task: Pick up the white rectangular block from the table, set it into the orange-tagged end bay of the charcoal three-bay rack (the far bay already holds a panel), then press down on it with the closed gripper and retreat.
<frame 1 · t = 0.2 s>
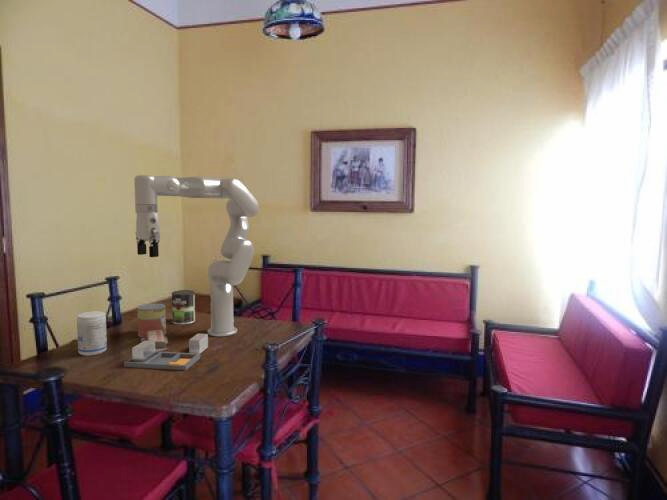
hand: (147, 255, 166), 37 cm above the table, tool pointing down, fingers open, 9 cm apart
coffee can: (184, 321, 211), on the table
panel seated: (144, 361, 158), point 1 cm above the table, touching rack
rack: (163, 364, 157), on the table
supplement tub: (93, 352, 169), on the table
packaged product: (154, 347, 176), on the table
canned food: (152, 334, 192), on the table
white rectangular block: (198, 352, 170), on the table
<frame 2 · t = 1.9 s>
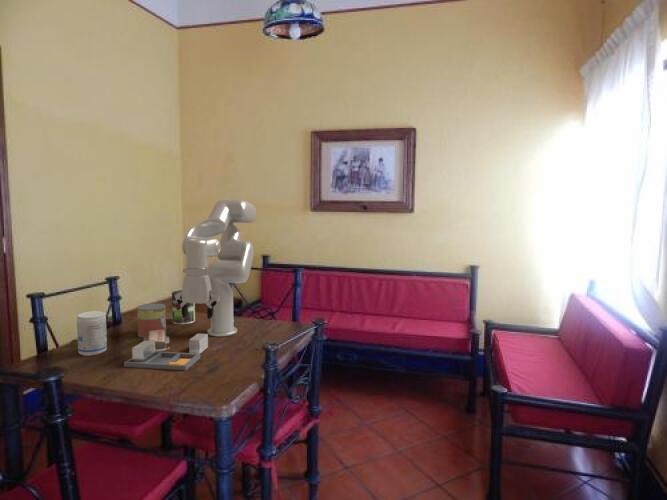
hand: (197, 317, 168), 14 cm above the table, tool pointing down, fingers open, 9 cm apart
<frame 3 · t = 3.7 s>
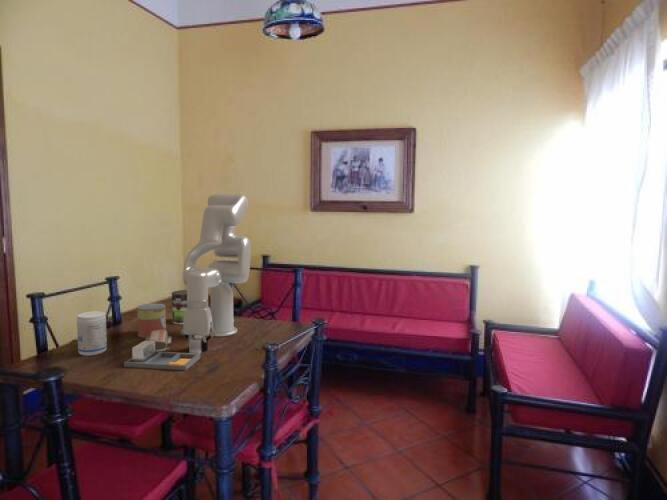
hand: (198, 351, 170), 0 cm above the table, tool pointing down, fingers closed on white rectangular block, 4 cm apart
white rectangular block: (198, 351, 170), on the table, touching gripper
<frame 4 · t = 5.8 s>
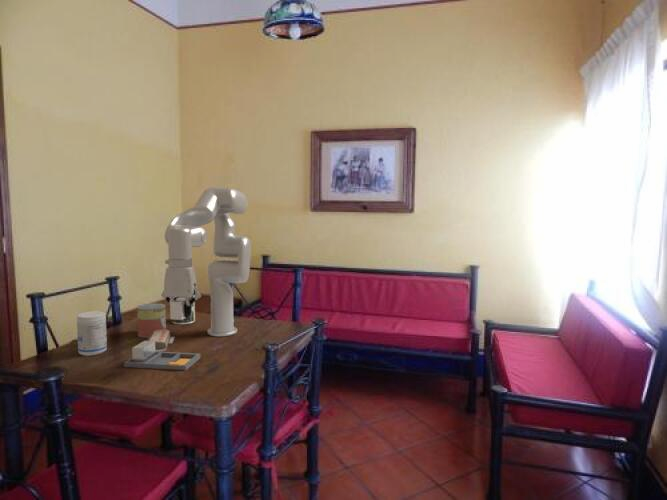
hand: (181, 315, 155), 18 cm above the table, tool pointing down, fingers closed on white rectangular block, 4 cm apart
white rectangular block: (181, 316, 155), point 17 cm above the table, touching gripper
when the fingers open (3 cm above the table, at t = 7.9 s): white rectangular block drops 2 cm, resting on rack.
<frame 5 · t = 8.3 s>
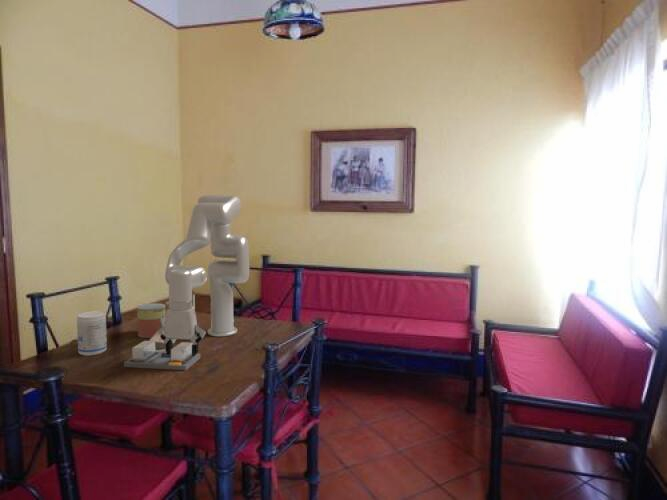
hand: (182, 353, 156), 4 cm above the table, tool pointing down, fingers open, 8 cm apart
white rectangular block: (182, 362, 156), point 1 cm above the table, touching rack
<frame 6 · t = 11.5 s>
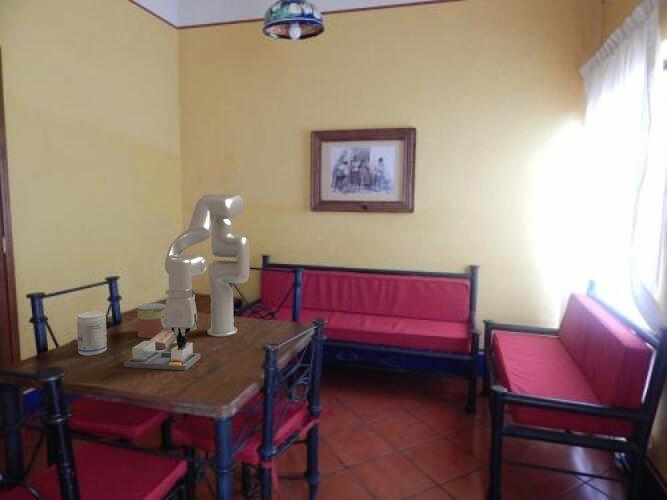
hand: (181, 345, 155), 7 cm above the table, tool pointing down, fingers closed
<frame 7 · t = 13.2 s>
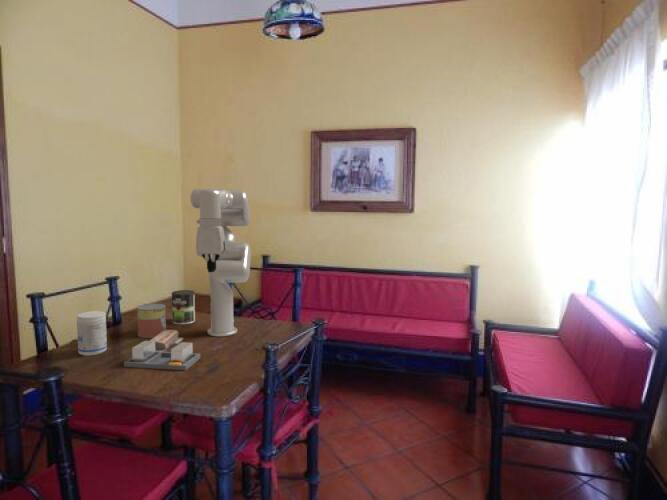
hand: (211, 271, 169), 31 cm above the table, tool pointing down, fingers closed
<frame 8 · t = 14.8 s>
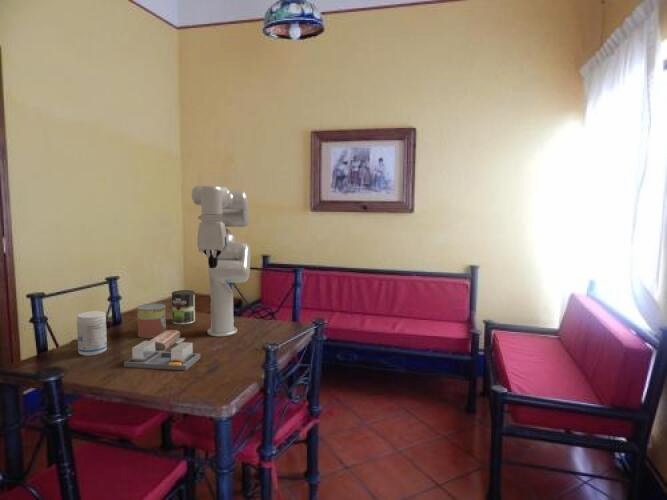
hand: (213, 267, 169), 32 cm above the table, tool pointing down, fingers closed
at the end: white rectangular block 0.1 cm from the target spot on the rack, point 0.9 cm above the rack's base; white rectangular block tilted 0°; the gripper is holding nothing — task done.
